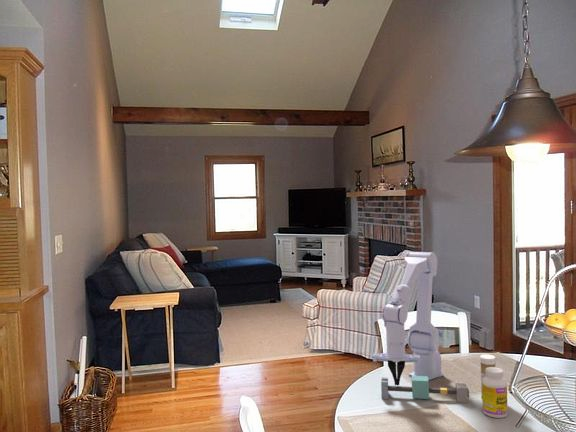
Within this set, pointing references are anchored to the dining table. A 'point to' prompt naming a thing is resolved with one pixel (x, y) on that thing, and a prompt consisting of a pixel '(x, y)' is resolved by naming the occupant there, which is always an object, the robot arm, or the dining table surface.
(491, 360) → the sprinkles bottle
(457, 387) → the grey cube
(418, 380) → the sleeve
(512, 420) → the dining table surface
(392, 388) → the shaft
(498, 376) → the supplement bottle
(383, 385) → the grey notched jaw block
